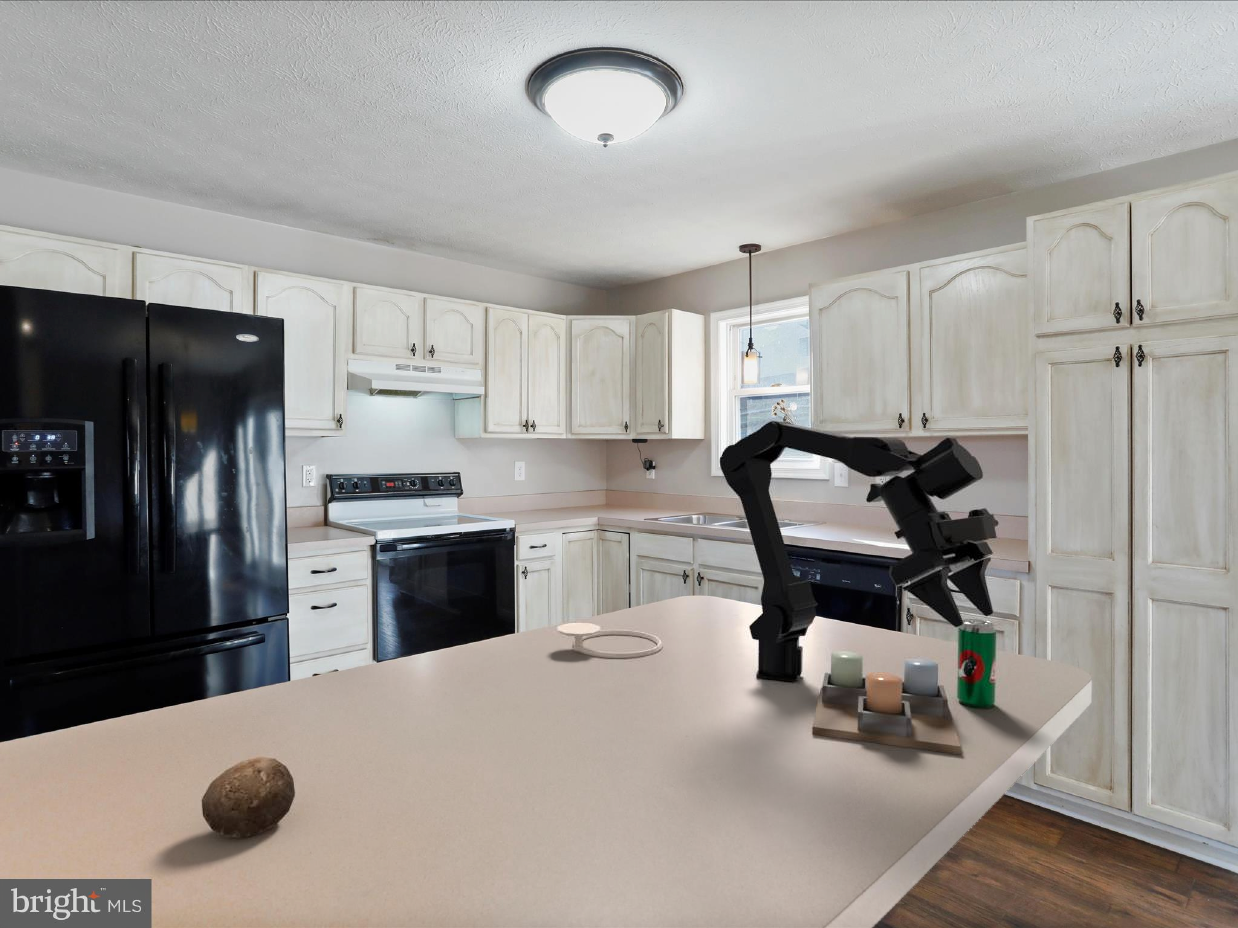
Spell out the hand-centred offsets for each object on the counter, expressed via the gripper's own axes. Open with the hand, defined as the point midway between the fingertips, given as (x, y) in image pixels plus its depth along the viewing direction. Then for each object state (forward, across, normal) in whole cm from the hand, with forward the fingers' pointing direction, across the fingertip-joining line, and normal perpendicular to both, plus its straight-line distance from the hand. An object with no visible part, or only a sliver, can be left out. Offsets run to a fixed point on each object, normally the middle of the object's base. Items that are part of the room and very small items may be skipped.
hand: (975, 620), depth 94 cm
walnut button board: (+7, -6, +16) cm, 19 cm away
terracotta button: (+6, -9, +13) cm, 17 cm away
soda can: (+10, +11, +12) cm, 19 cm away
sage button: (+1, -4, +20) cm, 20 cm away
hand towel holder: (-20, -11, +60) cm, 65 cm away
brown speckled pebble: (-7, -79, +38) cm, 88 cm away
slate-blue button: (+6, +1, +13) cm, 14 cm away
